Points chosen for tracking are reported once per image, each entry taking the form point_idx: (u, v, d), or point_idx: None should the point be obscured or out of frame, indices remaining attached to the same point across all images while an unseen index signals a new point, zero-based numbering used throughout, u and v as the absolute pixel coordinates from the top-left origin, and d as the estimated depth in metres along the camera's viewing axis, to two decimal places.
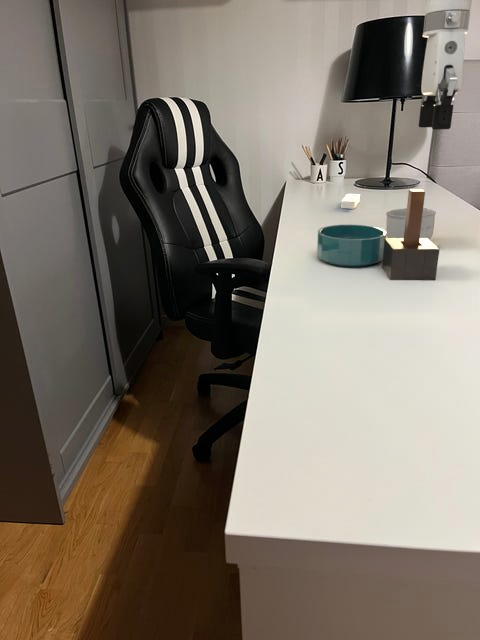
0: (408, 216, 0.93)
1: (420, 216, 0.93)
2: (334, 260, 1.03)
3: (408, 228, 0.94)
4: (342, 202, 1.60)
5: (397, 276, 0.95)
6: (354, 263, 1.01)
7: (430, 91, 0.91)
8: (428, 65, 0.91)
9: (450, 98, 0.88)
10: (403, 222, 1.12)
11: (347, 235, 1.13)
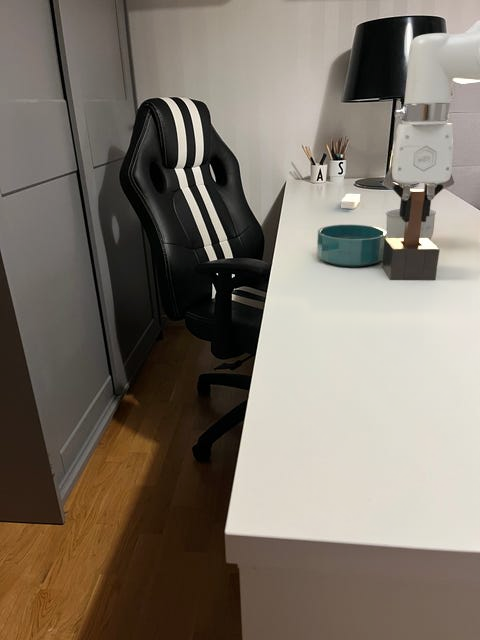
0: None
1: (420, 216, 0.93)
2: (334, 260, 1.03)
3: (408, 228, 0.94)
4: (342, 202, 1.60)
5: (397, 276, 0.95)
6: (354, 263, 1.01)
7: None
8: None
9: (397, 193, 0.92)
10: (403, 222, 1.12)
11: (347, 235, 1.13)
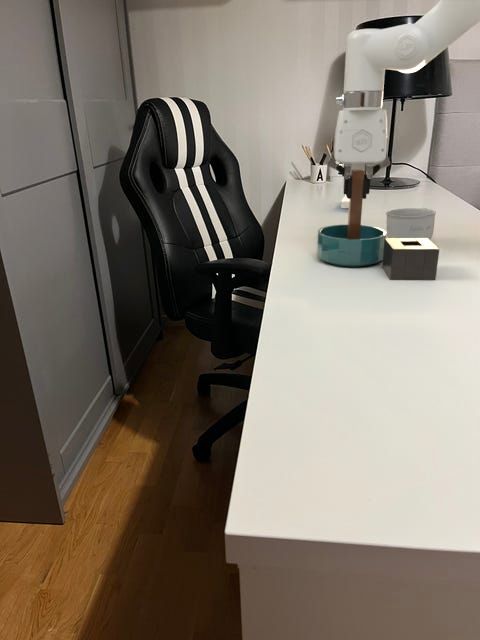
0: None
1: (361, 193, 1.03)
2: (334, 260, 1.03)
3: (351, 204, 1.04)
4: (342, 202, 1.60)
5: (397, 276, 0.95)
6: (354, 263, 1.01)
7: None
8: None
9: (340, 173, 1.03)
10: (403, 222, 1.12)
11: None
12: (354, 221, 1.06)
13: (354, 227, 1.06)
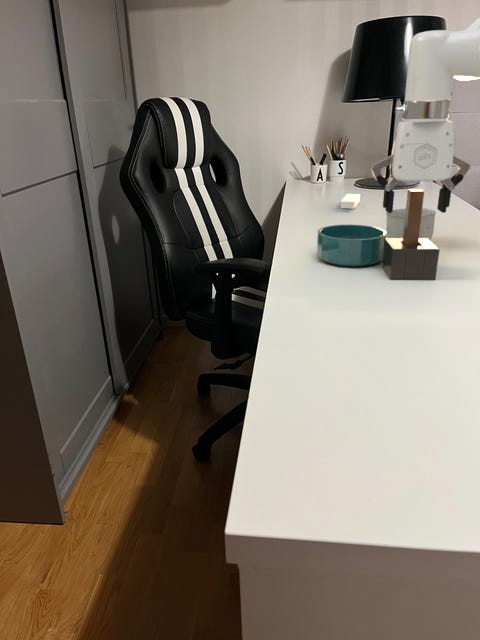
0: (407, 216, 0.93)
1: (419, 216, 0.93)
2: (334, 260, 1.03)
3: (407, 228, 0.94)
4: (342, 202, 1.60)
5: (397, 276, 0.95)
6: (354, 263, 1.01)
7: None
8: None
9: (380, 184, 0.92)
10: (403, 222, 1.12)
11: (347, 235, 1.13)
12: None
13: None
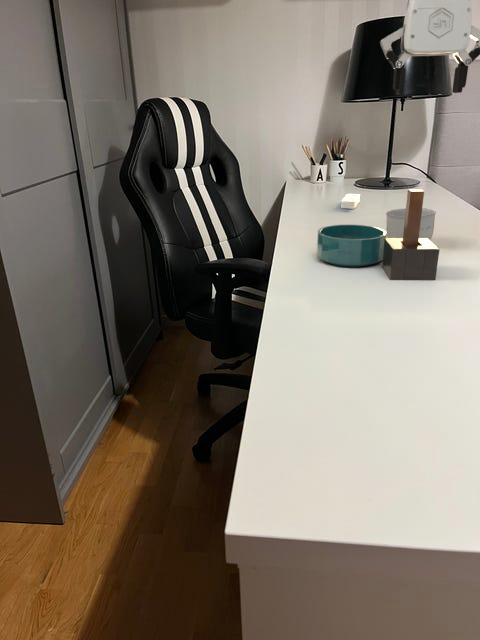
0: (407, 216, 0.93)
1: (419, 216, 0.93)
2: (334, 260, 1.03)
3: (407, 228, 0.94)
4: (342, 202, 1.60)
5: (397, 276, 0.95)
6: (354, 263, 1.01)
7: None
8: None
9: (390, 61, 0.84)
10: (403, 222, 1.12)
11: (347, 235, 1.13)
12: None
13: None
